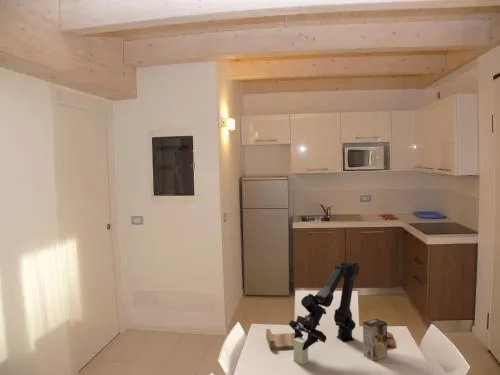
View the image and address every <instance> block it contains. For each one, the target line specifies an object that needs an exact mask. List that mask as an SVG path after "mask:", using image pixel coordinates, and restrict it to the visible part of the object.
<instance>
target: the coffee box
mask: <svg viewBox="0 0 500 375" xmlns="http://www.w3.org/2000/svg"><path fill="white" fill-rule="evenodd" d="M387 324H388V323H387V321H383V320H382V319H379V318H374V319H370V320H367V321H363V322H362V337H363V338H362V340H363V341H362V342H363V343H362V345H363V346H362V347H363V348H362V349H363V354H362V355H363V357H365V358H367V359H369V360H371V361H372V362H374V361H378V360H381V359H383V358H386V357H388V348H387V332H388V325H387Z"/></svg>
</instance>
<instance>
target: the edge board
mask: <svg viewBox="0 0 500 375" xmlns="http://www.w3.org/2000/svg"><path fill="white" fill-rule="evenodd" d="M265 332H266V333H265V335H266V336H265V337H266V341H267V344H268V347H269V350H270V351H275V350H276V351H277V350H278V351H279V350H291V349H292V350H294V338H295V332H289V333H273V334H272V331H271V329H270V328H266V329H265Z"/></svg>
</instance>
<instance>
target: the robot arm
mask: <svg viewBox="0 0 500 375" xmlns="http://www.w3.org/2000/svg"><path fill="white" fill-rule="evenodd" d="M359 271H360V265H359V263H357V262H353V261H349V260H345V261H344V262H340V263H339V264H335V266H334V270H333V272H332V273H331V275H330V276H329V278H328V280H327V282H326V284H325V286H324V287H322V288H321V289H319V290H318V291H317V293H316V294H315V295H314V294H312V293H308V295H305V296H304V297H303V298H302V299H301V302H300V305H301V306H302V307H303V308H304V309H305V310H306V311H307V312H308V314H306V315H305V316H301V315H297V317H296V320H293V319H292V320H290V321H289V322H288V325H289V327H290V328H291V329H292V331H294V333H295V338H298V337H301V338H304V334H303V332H304V333H306V334H307V338H306V342H305V344H304V346H303V349H302V350H305V349H307V348H308V349H309V347H311V346H312V345H314V344H316V343H318V342H322V343H324V344H325V343H326V341H327V336H326V335H325V333H324V332H323V331H321V330H318V329H317V327H318V326H320V325H321V323H320V321H321V319H322V317H323V315H327V311H326V308H330V306H331V305H332V303H333V300H334V293H335V291H336V289H337V287H338V285H339V284H340V282H341V280H342V278H343V282H342V289H341V294H340V295H341V297H340V303H339V307H338V308H336V309H335V310H334V315H333V318H334V319H333V320H334V323H335V325H336V326H337V327H338V329H337V336H336V338H337V339H339V340H341V341H342V342H344V343H346V342H349V341H353V340H355V337H353V331H354V330H355V328H356V323H355V321H354V320H353V313H352V311H351V302H352V294H353V288H354V281H355V279H356V278H357V277H358V276H359ZM324 307H325V308H324ZM295 338H294V339H295Z"/></svg>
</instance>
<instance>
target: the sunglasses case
mask: <svg viewBox="0 0 500 375" xmlns="http://www.w3.org/2000/svg"><path fill="white" fill-rule="evenodd" d="M387 349H393V350H394V349H397V347H396V344H395V340H394V339H393V335H392V333H391V332H389V331H387Z"/></svg>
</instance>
